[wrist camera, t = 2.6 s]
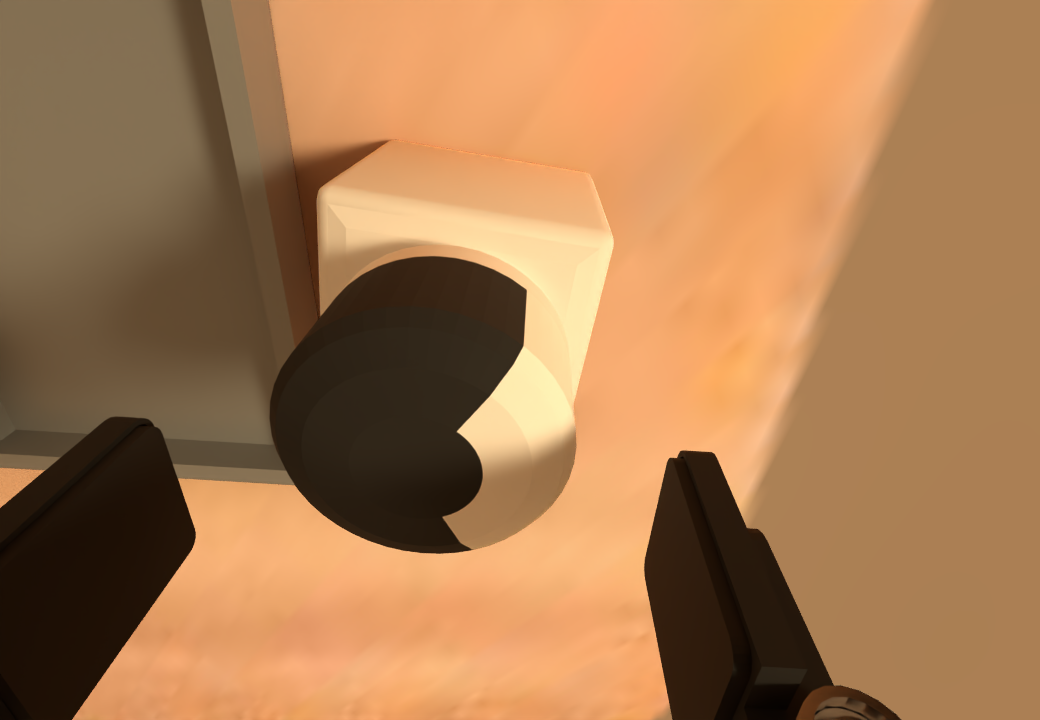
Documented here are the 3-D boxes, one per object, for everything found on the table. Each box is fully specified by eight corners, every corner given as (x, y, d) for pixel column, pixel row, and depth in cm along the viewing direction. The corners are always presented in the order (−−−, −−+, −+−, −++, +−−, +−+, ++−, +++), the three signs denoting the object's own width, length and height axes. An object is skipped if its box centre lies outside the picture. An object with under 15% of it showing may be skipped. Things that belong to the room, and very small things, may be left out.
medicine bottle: (381, 322, 22) (241, 571, 12) (387, 135, 19) (192, 259, 8) (555, 349, 22) (566, 613, 12) (594, 171, 19) (657, 332, 9)
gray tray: (-273, -128, 16) (-399, -154, 13) (252, -100, 15) (208, -121, 13) (20, 431, 26) (-26, 466, 24) (338, 450, 26) (320, 486, 24)
